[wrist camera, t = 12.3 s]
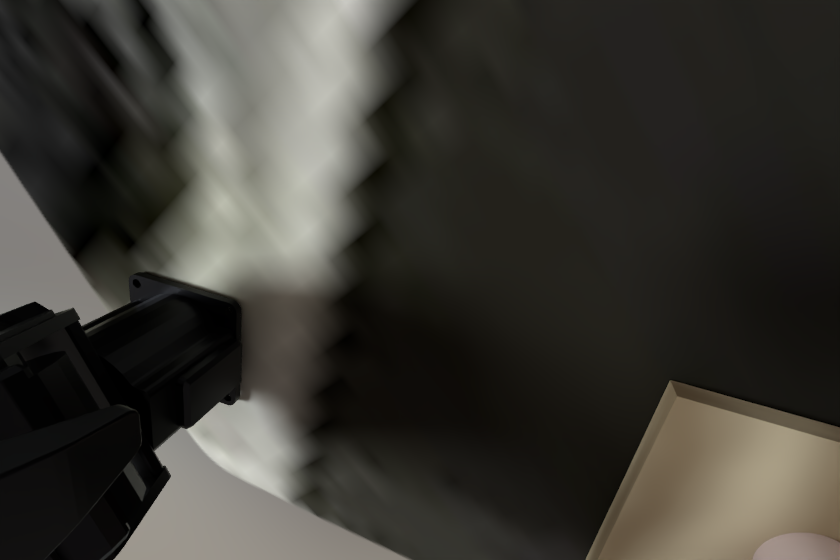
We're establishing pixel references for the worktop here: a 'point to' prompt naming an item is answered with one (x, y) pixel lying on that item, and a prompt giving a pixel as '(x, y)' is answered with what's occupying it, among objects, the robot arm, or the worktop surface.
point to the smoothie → (799, 548)
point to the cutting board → (721, 481)
